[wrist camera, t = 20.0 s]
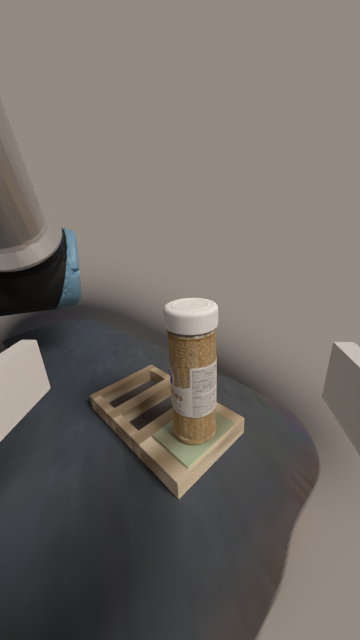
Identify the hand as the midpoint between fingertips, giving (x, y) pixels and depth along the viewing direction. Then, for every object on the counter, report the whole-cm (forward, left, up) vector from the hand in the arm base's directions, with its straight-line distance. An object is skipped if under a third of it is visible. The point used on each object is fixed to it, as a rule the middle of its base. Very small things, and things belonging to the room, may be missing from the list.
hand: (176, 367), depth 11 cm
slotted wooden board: (-12, +8, -16) cm, 21 cm away
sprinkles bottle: (-6, +8, -14) cm, 17 cm away
